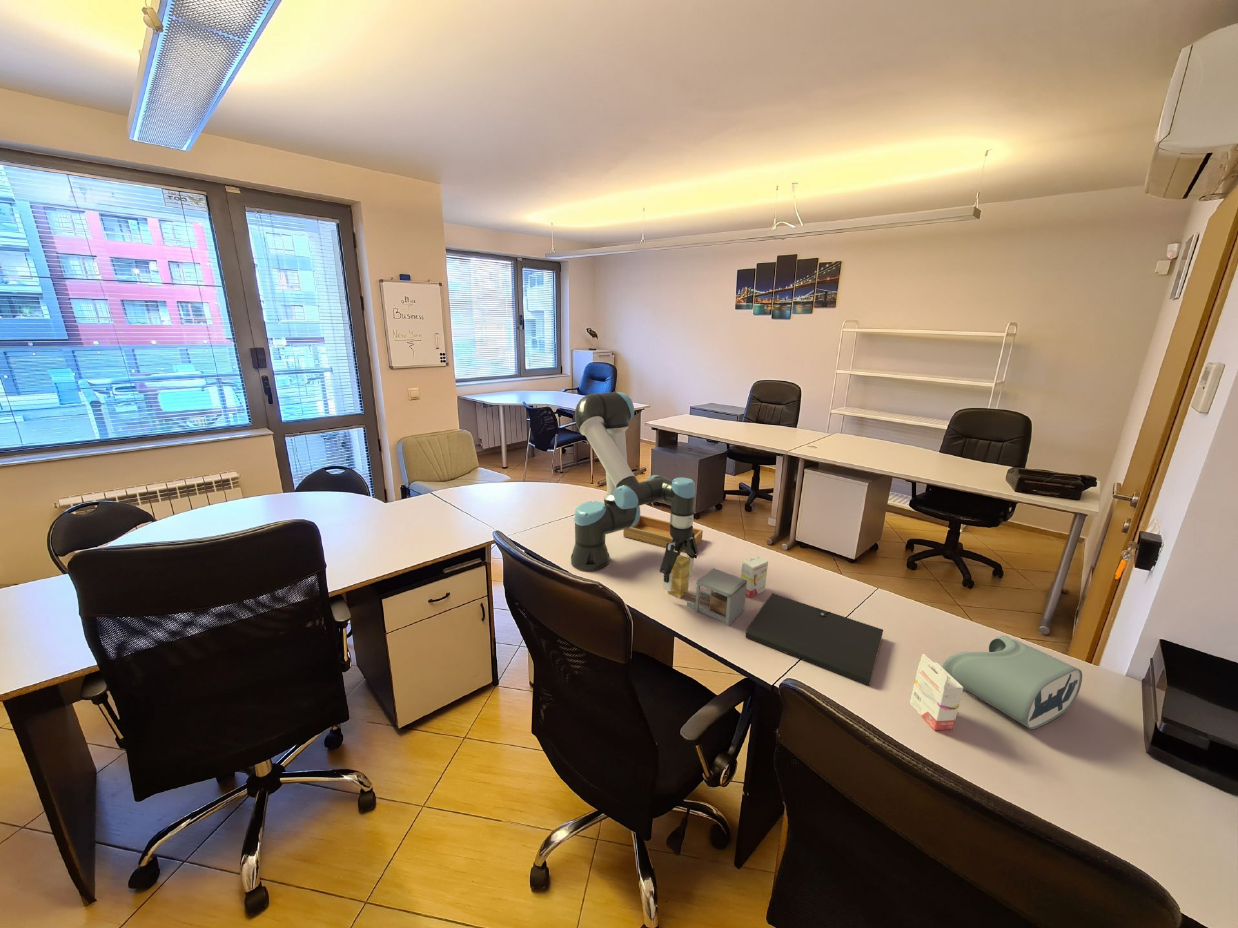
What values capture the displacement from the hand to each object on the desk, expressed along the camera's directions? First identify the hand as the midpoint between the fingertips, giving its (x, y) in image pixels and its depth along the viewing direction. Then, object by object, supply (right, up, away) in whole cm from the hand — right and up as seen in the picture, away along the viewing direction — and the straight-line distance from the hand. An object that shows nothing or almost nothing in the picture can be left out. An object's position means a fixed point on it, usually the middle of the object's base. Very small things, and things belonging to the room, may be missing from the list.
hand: (678, 581), depth 159 cm
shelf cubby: (+11, -7, -8) cm, 15 cm away
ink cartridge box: (+54, -20, -49) cm, 75 cm away
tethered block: (+7, -6, -4) cm, 10 cm away
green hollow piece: (+77, -18, -42) cm, 89 cm away
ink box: (+26, -4, +3) cm, 27 cm away
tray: (-2, +7, +43) cm, 44 cm away
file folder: (+37, -12, -21) cm, 45 cm away
